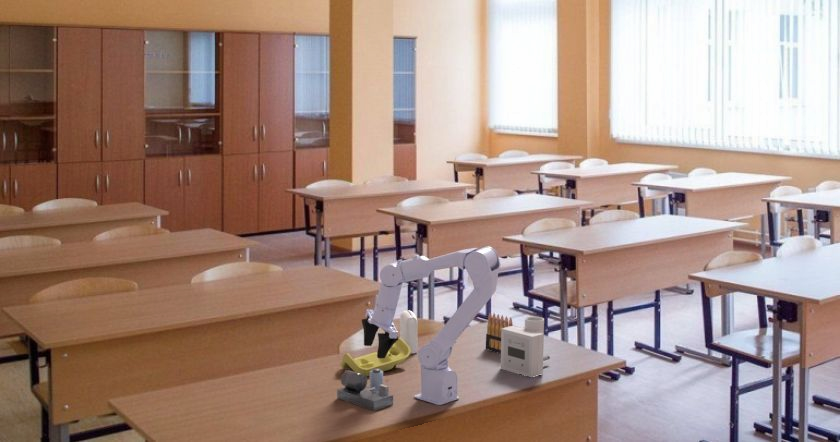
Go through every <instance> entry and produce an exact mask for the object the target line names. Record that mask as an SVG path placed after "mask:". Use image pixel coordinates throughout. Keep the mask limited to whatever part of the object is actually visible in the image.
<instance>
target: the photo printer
mask: <svg viewBox="0 0 840 442" xmlns="http://www.w3.org/2000/svg"><path fill="white" fill-rule="evenodd" d="M399 316H400V317H399V338H401V339H402V340H403V341H404V342H405V343H406V344H407V345H408V346H409V347H410V350H411V352H410V355H411V354H412V355H413V354H416V353H418V346H419V344H418V336H419V335H418V330H419V329H418V326H419V325H418V323H419V322H418V319H417V316H416V314H415V313H414V312H413V311H412V310H410V309H409V310H406V309H405V310H403V311H401V314H400V315H399Z"/></svg>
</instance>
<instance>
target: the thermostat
mask: <svg viewBox="0 0 840 442" xmlns="http://www.w3.org/2000/svg"><path fill="white" fill-rule="evenodd" d="M544 338H545V318H544V317H542V316H541V317H540V316H527V317H524V327H523V326H522V327H518V326H516V325H515V326H514V325H513V326H510V327H509V326H508V327H505V328H502V329H501V354H500V369H501V370H504V371H507V372H510V373H513V372H514V373H513V374H516V373H517V375H519V374H522V375H521V376H523V375H525V376H524V377H526V376H529V377H533V376H536V375H539V374H542V373H543V374H544V361H548V360H550V358H551V357H550V356H549V355H545V356H544V347H545V346H544V344H545V343H544V342H545V341H544V340H545V339H544ZM529 377H528V378H529Z"/></svg>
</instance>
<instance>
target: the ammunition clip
mask: <svg viewBox="0 0 840 442" xmlns="http://www.w3.org/2000/svg"><path fill="white" fill-rule="evenodd" d="M513 324H514V323H513V319H512V317H510V318H509V319H508V316H507V315H506V316H505V318H504V316H503V315H501V317H500V315H499V314H497V315H496V313H495V312H494V313H493V314H492V312H488V319H487V324H486V325H487V326H486V327H487V328H486V329H487V330H486V334H485V348H486V349H489V350H492V351H491V352H493V351H495V352H494V353H496V352H498V353H497V354H499V353H501V329H502V328H505V327H510V326H514V325H513ZM486 349H485V350H486ZM489 350H488V351H489Z"/></svg>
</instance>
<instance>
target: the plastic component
mask: <svg viewBox="0 0 840 442" xmlns="http://www.w3.org/2000/svg"><path fill="white" fill-rule="evenodd" d="M377 352H378V351H375V352H372V353H368V354H364V355H362V356H359V357H355V358H353V357H352V355H351V354H350V353H349V352H348V353H345V354H343V357H342V360H341V361H340V367H341V368H342V369H343V370H349V369H351V371H353V372H356V373H359V374H363V375H365V376H366V378H367V377H370V371H372V370H373V369H380V370H381V371H383V372H386V371H390V370H392V369H393V368H394V366H397V364H401V363H403V362H404V361H406V360H407V358H409V356H410V355H411V354H410V352H411V350H410V347H409V346H408V345H407V344H406V343H405V342H404V341H403V340H402V339H401V338H400V337H399V338H398V340H397V341H396V342H395V343H394V344H393V345H392V347H391V348H390V349H389V351H388V353H387V355H386V356H385V358H378V357H377Z"/></svg>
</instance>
